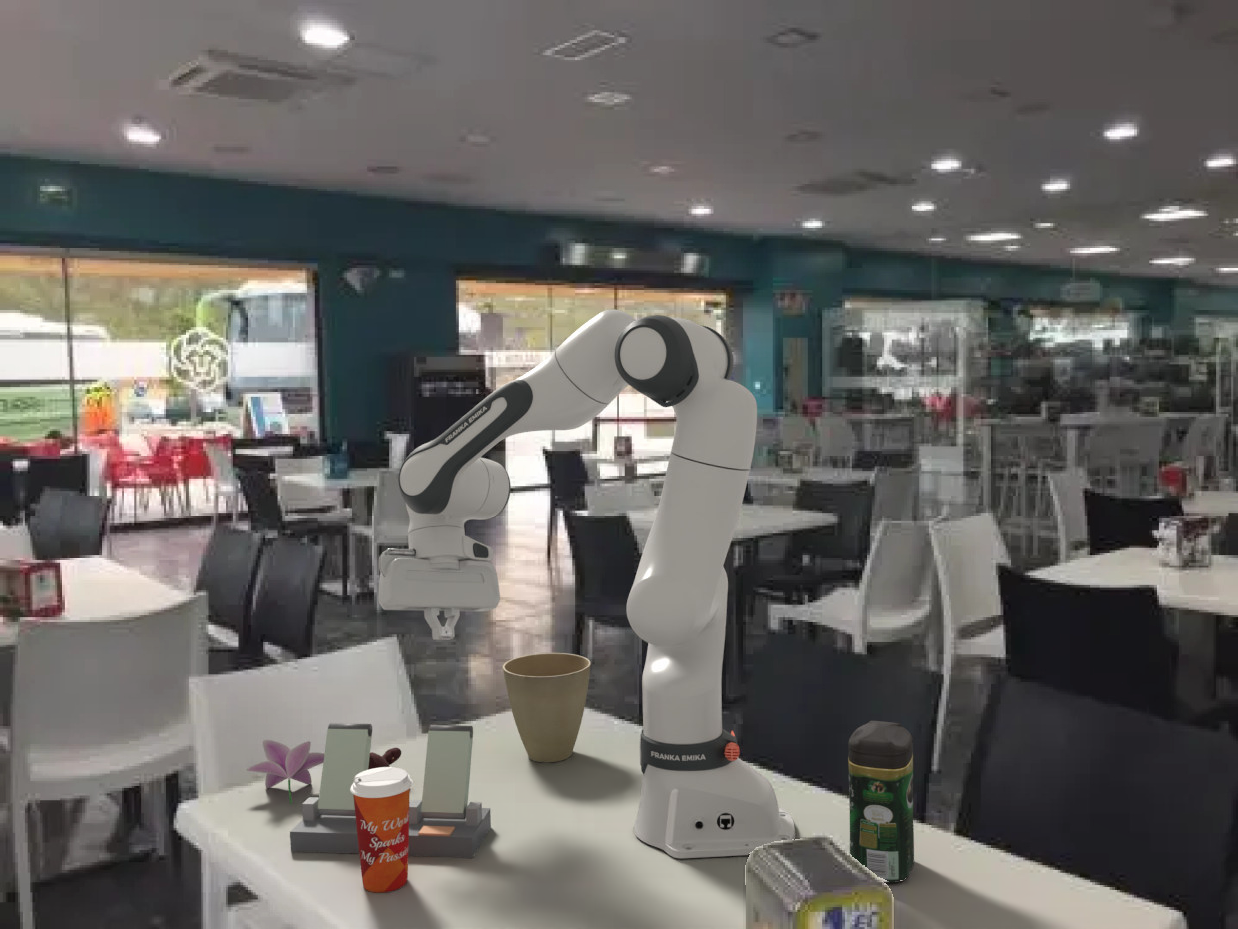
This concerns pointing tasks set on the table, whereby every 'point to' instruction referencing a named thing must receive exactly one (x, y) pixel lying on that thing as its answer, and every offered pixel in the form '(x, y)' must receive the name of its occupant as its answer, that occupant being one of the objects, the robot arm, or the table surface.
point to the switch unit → (423, 832)
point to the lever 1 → (343, 766)
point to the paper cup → (382, 827)
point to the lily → (287, 763)
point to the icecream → (384, 758)
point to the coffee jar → (882, 799)
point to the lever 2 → (447, 772)
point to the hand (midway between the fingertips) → (443, 639)
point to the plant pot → (547, 701)
